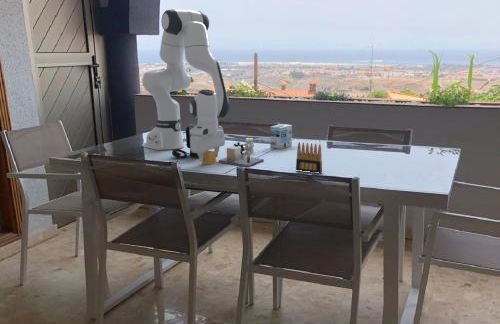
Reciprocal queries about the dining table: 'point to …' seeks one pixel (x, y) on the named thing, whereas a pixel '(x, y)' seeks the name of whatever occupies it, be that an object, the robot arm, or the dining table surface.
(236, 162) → the junction plate
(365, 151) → the dining table surface
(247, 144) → the valve
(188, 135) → the milk frother
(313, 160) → the ammunition clip
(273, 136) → the light bulb box
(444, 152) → the dining table surface
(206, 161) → the orange wooden block
